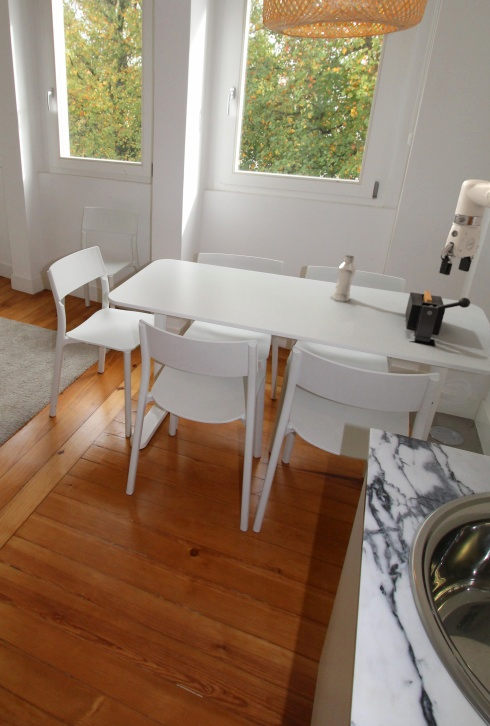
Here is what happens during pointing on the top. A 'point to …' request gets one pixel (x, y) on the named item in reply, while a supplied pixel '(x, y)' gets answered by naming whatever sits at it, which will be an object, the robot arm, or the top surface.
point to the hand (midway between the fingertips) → (453, 272)
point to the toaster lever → (455, 304)
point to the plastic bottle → (344, 279)
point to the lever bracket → (425, 324)
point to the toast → (427, 297)
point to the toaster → (414, 310)
